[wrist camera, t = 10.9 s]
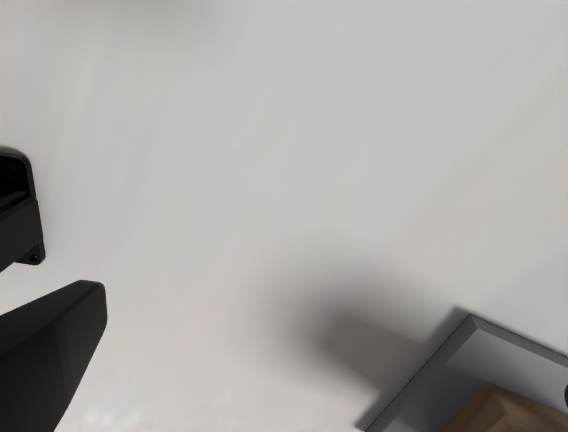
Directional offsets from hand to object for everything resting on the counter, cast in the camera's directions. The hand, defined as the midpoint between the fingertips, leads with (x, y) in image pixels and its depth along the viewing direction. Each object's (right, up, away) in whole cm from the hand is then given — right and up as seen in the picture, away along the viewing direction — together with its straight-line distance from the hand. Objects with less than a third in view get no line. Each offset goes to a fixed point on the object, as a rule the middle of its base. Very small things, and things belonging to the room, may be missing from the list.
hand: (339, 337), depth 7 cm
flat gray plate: (+13, -11, +19) cm, 25 cm away
